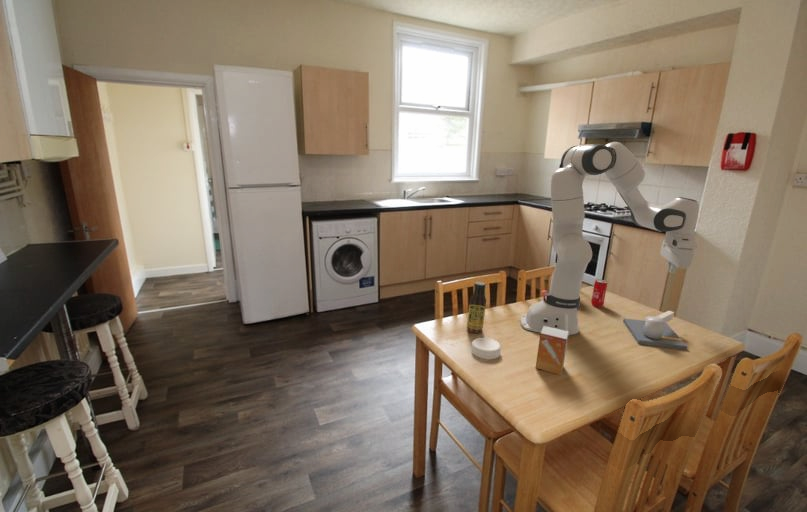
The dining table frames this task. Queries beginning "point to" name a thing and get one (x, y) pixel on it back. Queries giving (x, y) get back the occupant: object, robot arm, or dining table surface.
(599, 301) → the beverage can
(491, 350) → the white bowl
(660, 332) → the white measuring scoop
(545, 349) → the small box
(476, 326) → the sauce bottle
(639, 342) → the plate
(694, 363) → the dining table surface
